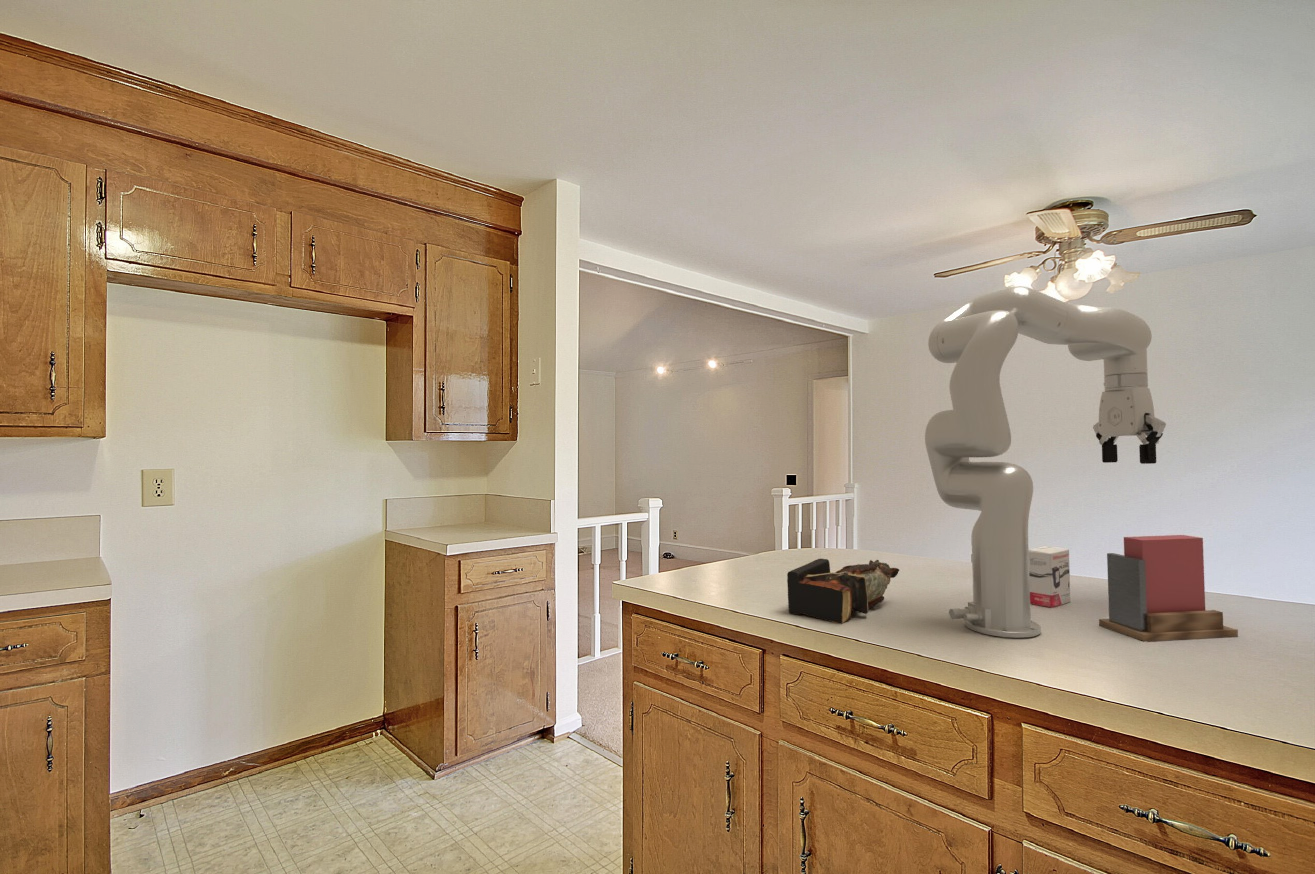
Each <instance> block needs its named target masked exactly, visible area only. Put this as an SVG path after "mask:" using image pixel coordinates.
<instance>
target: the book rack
mask: <svg viewBox="0 0 1315 874" xmlns="http://www.w3.org/2000/svg"><path fill="white" fill-rule="evenodd" d="M1098 626H1100V627H1103V628H1105V629H1109V630H1111V631H1114V632H1117V633H1119V634H1122V633H1123V634H1122V635H1125V634H1126V635H1125V636H1127V635H1129V636H1128V637H1131V638H1132V639H1133V638H1134V639H1136V640H1139V641H1141V640H1142V641H1141V642H1144V641H1148V642H1163V641H1165V640H1166V641H1181V640H1199V639H1217V638H1218V639H1219V638H1232V637H1233V638H1235V637H1236V638H1237V637H1238V638H1239V631H1238V629H1236V628H1233V627H1230V626H1226V625H1224V613H1223V611H1220V610H1215V609H1211V610H1210V609H1209V610H1206V609H1205V611H1186V612H1166V613H1147V632H1140V631H1137V630H1134V629H1131V628H1128V627H1125V626H1122V625H1119V624H1116V623H1113V622H1110V621H1109V618H1098Z"/></svg>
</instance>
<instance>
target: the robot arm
mask: <svg viewBox="0 0 1315 874" xmlns="http://www.w3.org/2000/svg"><path fill="white" fill-rule="evenodd" d="M1019 334H1020V335H1023V336H1025V337H1028V338H1031V339H1033V340H1036V341H1039V342H1041V343H1043V344H1047V345H1059V346H1060V345H1061V346H1062V345H1063V346H1064V345H1065V346H1067V349H1068V352H1069V353H1070V354H1071V355H1072V356H1073V357H1074V358H1075V359H1077V360H1079V361H1083V362H1093V361H1099V360H1103V375H1104V376H1103V381H1104V382H1103V387H1104V391H1102V392H1101V395H1100V400H1099V409H1098V421H1097V422H1096V423H1095V424H1093V426H1092V428H1093V431H1094V434H1095V436H1096V439H1098V442H1099V445H1101V456H1102V458H1101V460H1102V463H1105V464H1106V463H1107V464H1108V463H1109V464H1110V463H1117V462H1118V461H1119V460H1118V458H1119V457H1118V445H1117V443H1116V442H1117V440H1118V439H1119V437H1123V436H1124V437H1125V436H1127V437H1128V436H1130V437H1132V436H1136V437H1137V439H1138V440H1139V441H1140V442H1141V444H1139V448H1138V449H1139V463H1140V464H1141V465H1145V464H1146V465H1147V464H1148V465H1149V464H1156V463H1157V445H1158V444H1160V443H1159V442H1160V439H1161V438H1162V437H1163V434H1164V433H1163V432H1164V431H1165V428H1166V426H1167V423H1166V422H1165V421H1163V420H1161V419H1159V418H1157V417H1156V416H1155V409H1154V402H1153V401H1154V400H1153V396H1152V392H1151V390H1150V387H1149V379H1148V378H1149V377H1148V351H1147V350H1148V348H1149V346H1150V345H1151V342H1152V330H1151V327H1150V326H1149V325H1148V323H1147V322H1146V320H1144V319H1143V318H1141V317H1139V316H1138V315H1135V314H1134V313H1132V312H1130V311H1127V310H1124V309H1121V308H1116V307H1109V306H1108V307H1107V306H1099V305H1098V306H1097V305H1087V304H1077V303H1068V302H1065V301H1063V300H1060V299H1057V298H1055V297H1053V296H1050V295H1048V294H1045V293H1043V292H1041V291H1038V290H1036V289H1033V288H1031V287H1029V286H1028V287H1027V286H1022V285H1021V286H1012V287H1008V288H1007V287H1006V288H1004V289H1003V288H1002V289H1000V290H996V291H992V292H990V293H985V294H982V295H979V296H977V297H974V298H972V299H971V300H969V301H968V302H966V303H965V304H963V305H962V306H961V307H959V308H958V309H956V310H954V312H952V313H951V314H949V315H948V316H946V317H945V318H943V319H942V320H941V321H939V322H938V323H936V324H935V326H934V327H933V328H932V329H931V332H930V334H929V336H928V342H927V343H928V344H927V345H928V351H929V352H930V354H931V356H932V357H933V358H934V359H935V360H937V361H938V362H939V363H943V364H955V366H954V368H953V370H952V372H951V375H950V379H949V385H948V386H949V394H950V400H951V405H952V406H951V407H952V409H948V410H947V409H946V410H943V411H942V410H941V411H939V412H936V413H935V414H934V415H933V416H932V417H931V418H930V419H929V420H928V422H927V424H926V427H925V431H924V432H925V434H924V444H925V448H926V452H927V453H926V454H927V457H928V460H929V464H930V468H931V472H932V476H933V481H934V483H935V487H936V490H937V493H938V495H939V497H940V499H941V500H942V501H943V503H944V504H946V505H947V506H949V507H952V508H956V509H963V510H970V511H979V512H980V514H979V515H978V518H977V519H976V522H975V523H974V525H973V527H972V530H971V535H970V536H971V539H970V540H971V564H972V566H971V567H972V569H971V570H972V593H973V594H972V596H973V597H972V598H973V599H972V601H968V602H967V606H965V607H964V608H949V610H948V616H949V618H950V619H951V620H959V619H960V620H961V619H963V620H964V624H965V626H966V627H967V628H968V629H969V630H972V631H974V632H976V633H977V632H978V633H980V634H984V635H989V636H994V637H1000V638H1011V639H1021V638H1023V639H1024V638H1033V637H1037V636H1038V635H1040V634H1041V633H1042V632H1041V631H1042V628H1041V627H1042V626H1041V625H1040V624H1039V623H1038V622H1036V621H1034V620H1031V616H1032V614H1031V613H1032V612H1031V604H1030V579H1029V550H1030V548H1029V518H1030V511H1031V504H1032V501H1033V500H1032V499H1033V493H1034V482H1033V479H1032V477H1031V475H1030V473H1029V472H1028V471H1027V470H1026V469H1025V468H1024V467H1022V466H1020V465H1017V464H1015V463H1010V462H1005V461H1004V462H1003V461H970V458H993V457H998V456H1001V455H1003V454H1004V453H1006V452H1008V450H1009V449H1010V447H1011V444H1012V433H1011V428H1010V423H1009V419H1008V415H1007V411H1006V406H1005V403H1004V398H1003V395H1002V387H1001V383H1000V382H1001V381H1000V380H1001V379H1000V376H1001V371H1002V367H1003V365H1004V362H1005V360H1006V358H1007V356H1008V355H1009V354H1010V351H1011V350H1012V348H1014V347H1013V346H1014V345H1015V343H1016V341H1017V339H1018V336H1019ZM1115 443H1116V444H1115Z"/></svg>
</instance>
